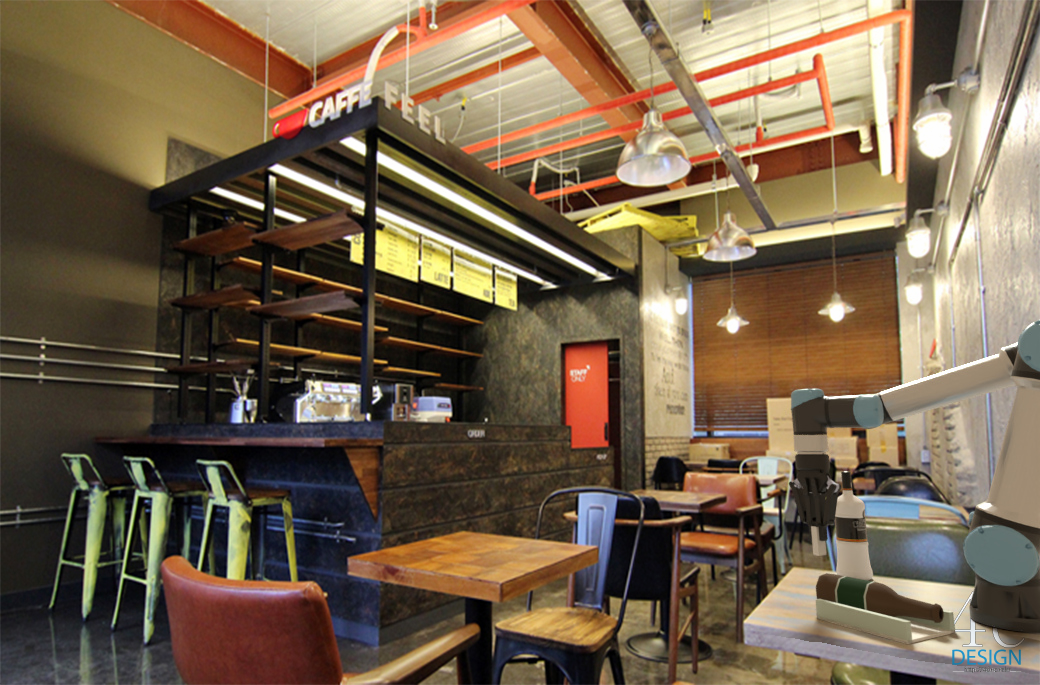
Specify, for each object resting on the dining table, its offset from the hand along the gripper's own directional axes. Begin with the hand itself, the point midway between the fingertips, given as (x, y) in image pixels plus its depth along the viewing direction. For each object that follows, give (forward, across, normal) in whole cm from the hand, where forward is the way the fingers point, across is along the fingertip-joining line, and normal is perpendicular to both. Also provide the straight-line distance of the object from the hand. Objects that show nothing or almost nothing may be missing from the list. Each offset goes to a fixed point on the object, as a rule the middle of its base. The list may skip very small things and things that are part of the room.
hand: (819, 554), depth 147 cm
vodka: (+13, +19, -38) cm, 44 cm away
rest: (+12, -14, 0) cm, 19 cm away
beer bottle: (+8, 0, +1) cm, 8 cm away
